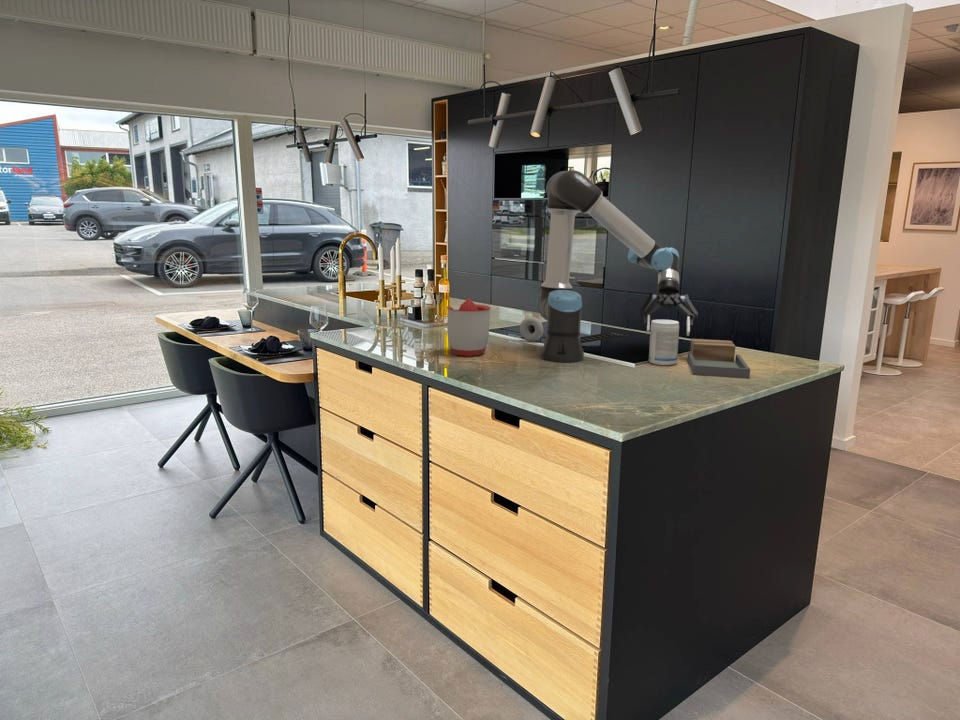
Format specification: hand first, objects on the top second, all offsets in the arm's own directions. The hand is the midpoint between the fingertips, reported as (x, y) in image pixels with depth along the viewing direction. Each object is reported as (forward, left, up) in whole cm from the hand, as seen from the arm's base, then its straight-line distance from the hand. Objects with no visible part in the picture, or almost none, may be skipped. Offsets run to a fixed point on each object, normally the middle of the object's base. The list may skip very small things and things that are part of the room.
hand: (668, 333), depth 237 cm
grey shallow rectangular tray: (+16, +7, -10) cm, 20 cm away
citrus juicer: (-45, -55, -10) cm, 72 cm away
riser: (+5, +18, -10) cm, 21 cm away
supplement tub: (+1, -3, -10) cm, 11 cm away
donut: (-51, -21, -10) cm, 56 cm away
